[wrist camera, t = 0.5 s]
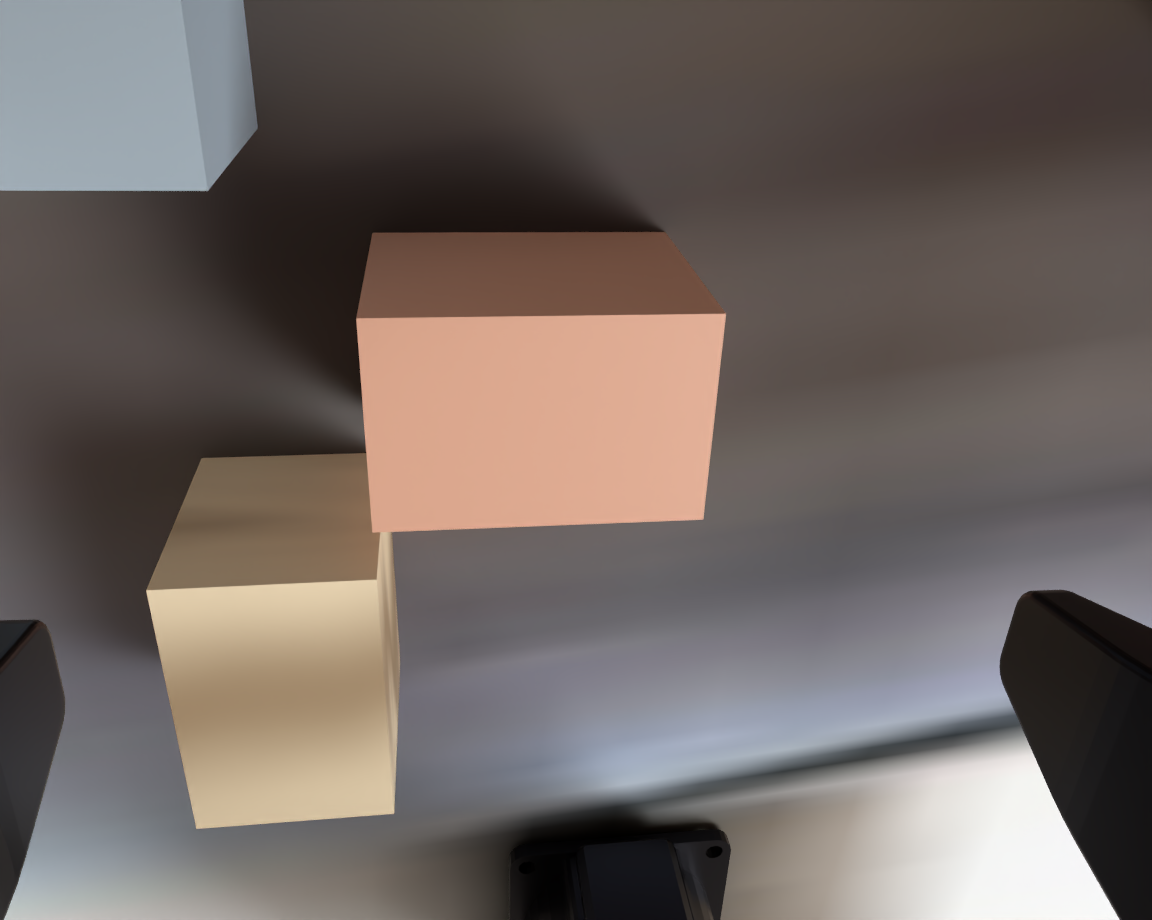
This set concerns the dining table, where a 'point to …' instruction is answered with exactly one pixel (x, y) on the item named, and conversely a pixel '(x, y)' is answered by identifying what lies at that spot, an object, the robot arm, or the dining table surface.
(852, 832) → the dining table surface
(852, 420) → the dining table surface
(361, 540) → the maple block
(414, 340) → the terracotta block
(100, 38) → the gray block
